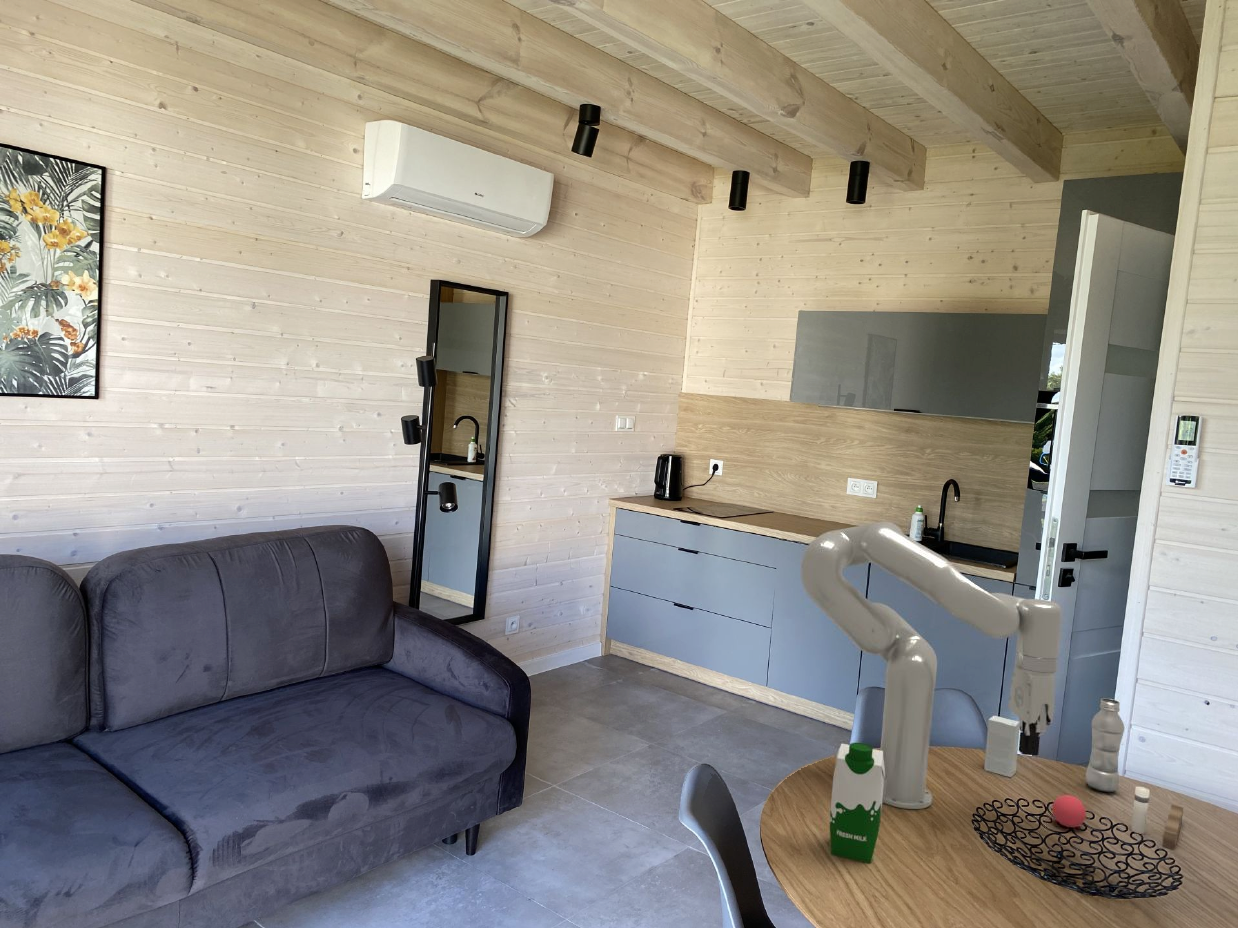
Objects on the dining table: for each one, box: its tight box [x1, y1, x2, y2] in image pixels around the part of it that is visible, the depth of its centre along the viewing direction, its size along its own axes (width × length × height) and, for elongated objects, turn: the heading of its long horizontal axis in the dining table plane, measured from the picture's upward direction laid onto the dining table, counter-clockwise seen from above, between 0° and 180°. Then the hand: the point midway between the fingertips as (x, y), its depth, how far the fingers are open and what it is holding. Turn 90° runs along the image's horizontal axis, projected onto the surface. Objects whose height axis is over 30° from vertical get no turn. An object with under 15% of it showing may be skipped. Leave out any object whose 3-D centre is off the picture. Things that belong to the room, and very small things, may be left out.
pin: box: [1130, 785, 1150, 835], centre depth 177 cm, size 2×2×9 cm
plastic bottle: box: [1085, 697, 1125, 793], centre depth 196 cm, size 6×7×20 cm
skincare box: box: [983, 715, 1020, 778], centre depth 203 cm, size 6×4×12 cm
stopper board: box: [1162, 804, 1184, 851], centre depth 177 cm, size 16×2×3 cm, turn 143°
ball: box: [1051, 794, 1087, 828], centre depth 177 cm, size 6×6×6 cm
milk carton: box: [829, 742, 885, 864], centre depth 161 cm, size 9×9×20 cm
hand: (1028, 753), depth 177 cm, fingers closed
